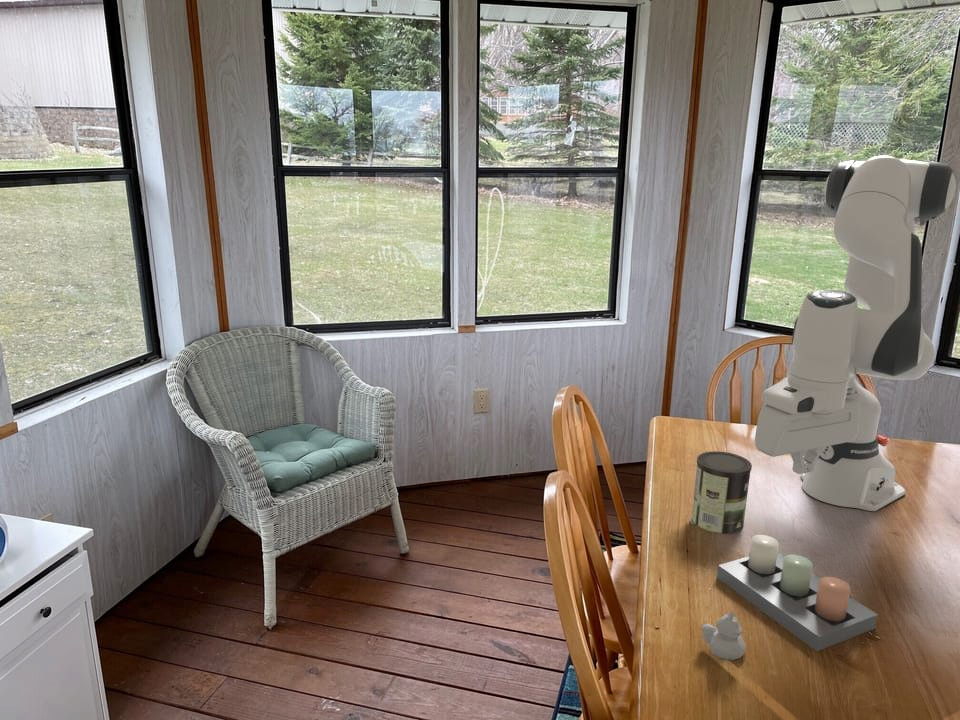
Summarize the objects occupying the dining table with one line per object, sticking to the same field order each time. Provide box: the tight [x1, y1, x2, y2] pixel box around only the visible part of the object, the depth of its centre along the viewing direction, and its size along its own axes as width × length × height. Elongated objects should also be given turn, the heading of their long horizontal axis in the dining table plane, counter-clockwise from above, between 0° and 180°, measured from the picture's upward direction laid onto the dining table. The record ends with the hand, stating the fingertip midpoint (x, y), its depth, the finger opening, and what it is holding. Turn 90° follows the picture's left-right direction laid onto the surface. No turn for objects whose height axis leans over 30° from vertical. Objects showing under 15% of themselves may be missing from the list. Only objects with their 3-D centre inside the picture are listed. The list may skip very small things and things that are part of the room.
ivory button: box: [748, 534, 780, 574], centre depth 125 cm, size 4×4×5 cm
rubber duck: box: [701, 610, 747, 662], centre depth 108 cm, size 5×7×8 cm
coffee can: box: [690, 451, 753, 535], centre depth 144 cm, size 10×10×14 cm
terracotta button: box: [815, 576, 851, 621], centre depth 113 cm, size 4×4×5 cm
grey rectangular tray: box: [716, 551, 879, 652], centre depth 120 cm, size 13×21×4 cm, turn 26°
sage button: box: [780, 554, 814, 597], centre depth 119 cm, size 4×4×5 cm
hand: (802, 471), depth 120 cm, fingers closed
